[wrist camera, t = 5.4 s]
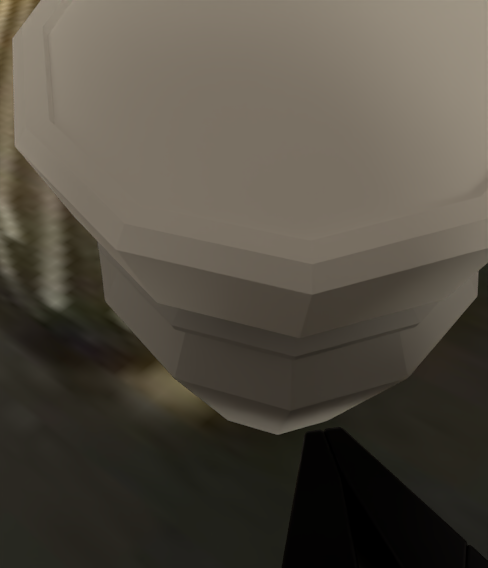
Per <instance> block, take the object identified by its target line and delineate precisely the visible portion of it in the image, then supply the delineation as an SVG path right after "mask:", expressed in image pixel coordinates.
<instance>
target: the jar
mask: <svg viewBox="0 0 488 568" xmlns="http://www.w3.org/2000/svg"><path fill="white" fill-rule="evenodd" d="M13 87H14V136H15V147H16V148H17V149H18V151H19V152H20V153H21V154H22V155H23V156H24V158H25V159H26V160H27V161H28V162H29V164H30V165H31V166H32V167H33V168H34V170H35V171H36V172H37V173H38V174H39V175H40V177H41V178H42V179H43V180H44V181H45V183H46V184H47V185H48V186H49V187H50V189H51V190H52V191H53V192H54V193H55V194H56V196H57V197H58V198H59V199H60V200H61V202H62V203H63V204H64V205H65V206H66V208H67V209H68V210H69V211H70V212H71V213H72V215H73V216H74V217H75V218H76V219H77V220H78V221H79V222H80V223H81V224H82V226H83V227H84V228H85V229H86V230H87V231H88V232H89V233H90V234H91V235H92V236H93V237H94V238H95V239H96V240H97V243H98V249H99V254H100V262H101V271H102V279H103V287H104V296H105V302H106V303H107V304H108V305H109V306H110V307H111V308H112V309H113V311H114V312H115V313H116V314H117V315H118V316H119V317H120V318H121V319H122V321H123V322H124V323H125V324H126V325H127V326H128V327H129V328H130V329H131V331H132V332H133V333H134V334H135V335H136V336H137V337H138V338H139V339H140V341H141V342H142V343H143V344H144V345H145V346H146V347H147V348H148V350H149V351H150V352H151V353H152V354H153V355H154V356H155V357H156V358H157V360H158V361H159V362H160V363H161V364H162V365H163V366H164V367H165V368H166V370H167V371H168V372H169V373H170V374H171V375H172V376H173V377H174V378H175V379H176V380H177V381H178V382H180V383H181V384H182V385H183V386H185V387H186V388H187V389H189V390H190V391H191V392H192V393H194V394H195V395H196V396H198V397H199V398H200V399H201V400H203V401H204V402H205V403H206V404H208V405H209V406H210V407H212V408H213V409H214V410H215V411H217V412H218V413H219V414H220V415H222V416H223V417H224V418H226V419H227V420H228V421H232V422H235V423H239V424H242V425H245V426H249V427H252V428H256V429H259V430H263V431H266V432H270V433H273V434H276V435H279V434H282V433H286V432H289V431H293V430H296V429H300V428H303V427H307V426H310V425H314V424H318V423H321V422H325V421H328V420H329V419H331V418H333V417H335V416H337V415H339V414H341V413H343V412H345V411H346V410H348V409H350V408H352V407H354V406H356V405H358V404H360V403H362V402H363V401H365V400H367V399H369V398H371V397H373V396H375V395H377V394H379V393H380V392H382V391H384V390H386V389H388V388H390V387H392V386H394V385H396V384H398V383H399V382H401V381H403V380H405V379H407V378H408V377H409V376H410V375H411V374H412V373H413V371H414V370H415V369H416V368H417V367H418V366H419V364H420V363H421V362H422V361H423V360H424V358H425V357H426V356H427V355H428V354H429V353H430V351H431V350H432V349H433V348H434V347H435V346H436V344H437V343H438V342H439V341H440V340H441V338H442V337H443V336H444V335H445V334H446V333H447V331H448V330H449V329H450V328H451V327H452V325H453V324H454V323H455V322H456V321H457V320H458V318H459V317H460V316H461V315H462V314H463V312H464V311H465V310H466V309H467V308H468V307H469V305H470V304H471V303H472V302H473V301H474V300H475V298H476V297H477V291H478V270H480V269H481V268H482V267H483V266H484V265H486V264H487V263H488V0H41V1H40V2H39V4H38V5H37V6H36V8H35V9H34V10H33V12H32V13H31V14H30V16H29V17H28V18H27V20H26V21H25V23H24V24H23V25H22V27H21V28H20V29H19V31H18V32H17V33H16V35H15V36H14V37H13Z"/></svg>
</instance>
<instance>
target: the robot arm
mask: <svg viewBox="0 0 488 568" xmlns="http://www.w3.org/2000/svg"><path fill="white" fill-rule="evenodd" d="M282 568H488V560H486V559H485V558H484V557H483V556H482V555H481V554H480V553H479V552H478V551H477V550H476V549H474V548H473V547H472V546H471V545H468V546H467V542H466V541H465V540H464V539H463V538H462V537H461V536H460V535H459V534H458V533H457V532H456V531H455V530H453V529H452V528H451V527H450V526H449V525H448V524H447V523H446V522H445V521H444V520H442V519H441V518H440V517H439V516H438V515H437V514H436V513H435V512H434V511H433V510H432V509H430V508H429V507H428V506H427V505H426V504H425V503H424V502H423V501H422V500H421V499H420V498H418V497H417V496H416V495H415V494H414V493H413V492H412V491H411V490H410V489H409V488H407V487H406V486H405V485H404V484H403V483H402V482H401V481H400V480H399V479H398V478H397V477H395V476H394V475H393V474H392V473H391V472H390V471H389V470H388V469H387V468H386V467H384V466H383V465H382V464H381V463H380V462H379V461H378V460H377V459H376V458H375V457H374V456H372V455H371V454H370V453H369V452H368V451H367V450H366V449H365V448H364V447H363V446H361V445H360V444H359V443H358V442H357V441H356V440H355V439H354V438H353V437H352V436H351V435H349V434H348V433H347V432H346V431H345V430H344V429H343V428H341V427H336V428H329V429H325V430H324V432H323V431H322V430H315V431H308V432H306V433H305V436H304V441H303V447H302V453H301V459H300V464H299V470H298V476H297V482H296V488H295V493H294V499H293V505H292V511H291V516H290V522H289V528H288V534H287V540H286V545H285V551H284V557H283V563H282Z"/></svg>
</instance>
